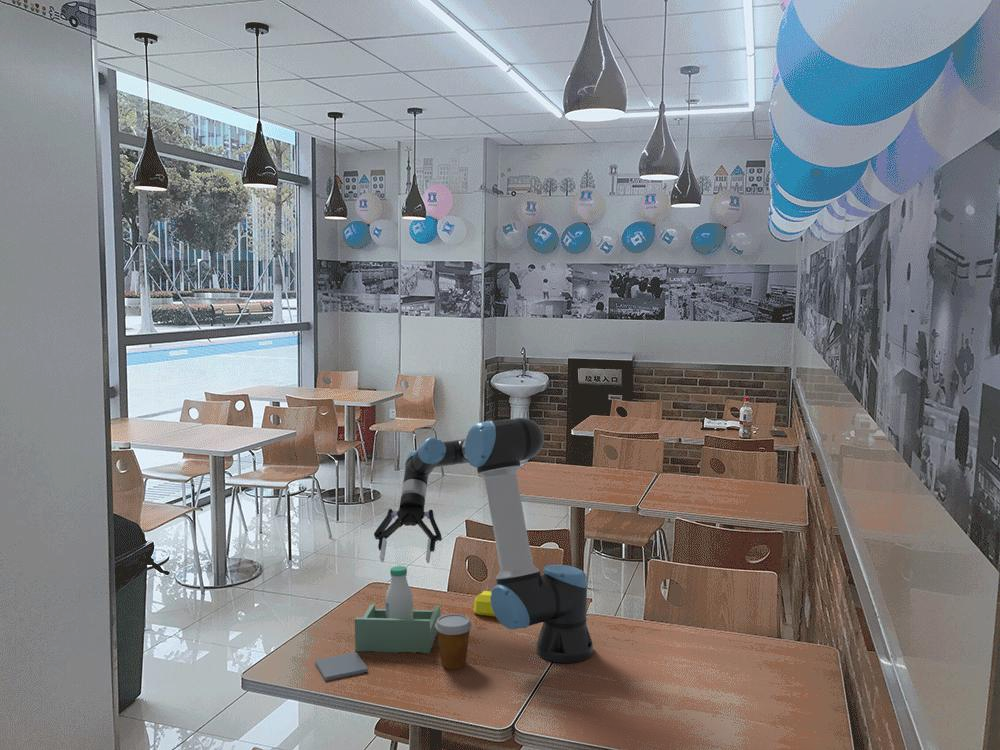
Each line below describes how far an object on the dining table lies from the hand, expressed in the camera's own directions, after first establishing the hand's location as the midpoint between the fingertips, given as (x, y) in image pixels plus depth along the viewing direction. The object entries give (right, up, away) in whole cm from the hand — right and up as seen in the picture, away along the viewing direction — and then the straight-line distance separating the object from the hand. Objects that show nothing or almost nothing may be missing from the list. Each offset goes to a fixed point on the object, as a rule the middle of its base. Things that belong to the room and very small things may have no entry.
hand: (404, 560), depth 243 cm
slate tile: (-13, -22, -28) cm, 38 cm away
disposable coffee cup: (+16, -22, -26) cm, 37 cm away
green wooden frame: (0, -20, -8) cm, 21 cm away
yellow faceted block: (+28, -19, +8) cm, 34 cm away
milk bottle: (0, -20, -8) cm, 22 cm away
